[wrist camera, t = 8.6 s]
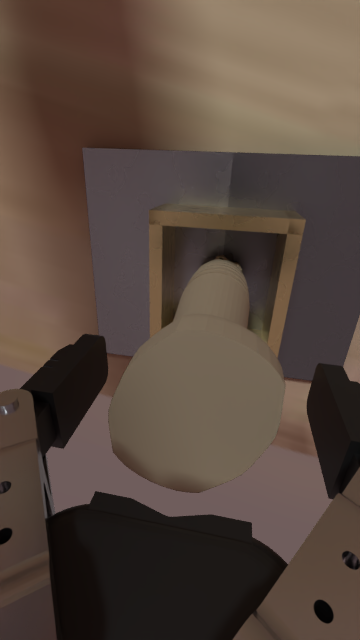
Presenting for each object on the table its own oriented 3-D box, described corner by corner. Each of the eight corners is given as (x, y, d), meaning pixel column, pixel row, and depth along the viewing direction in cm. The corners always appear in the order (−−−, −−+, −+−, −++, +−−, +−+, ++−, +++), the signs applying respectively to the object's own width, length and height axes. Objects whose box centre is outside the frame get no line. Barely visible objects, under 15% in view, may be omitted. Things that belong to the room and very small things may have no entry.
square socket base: (87, 148, 21) (48, 142, 17) (403, 158, 18) (450, 155, 14) (104, 347, 28) (79, 378, 24) (334, 378, 25) (352, 419, 21)
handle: (274, 251, 21) (324, 385, 8) (229, 324, 24) (211, 510, 11) (211, 219, 21) (156, 301, 8) (173, 297, 24) (88, 451, 11)
